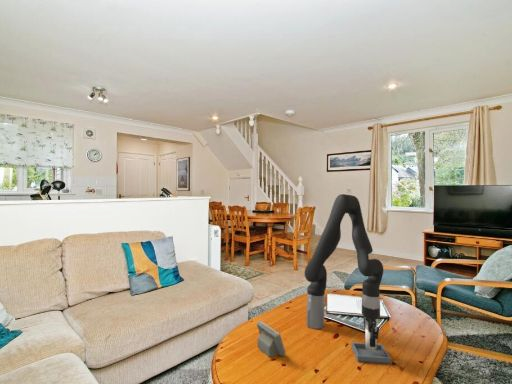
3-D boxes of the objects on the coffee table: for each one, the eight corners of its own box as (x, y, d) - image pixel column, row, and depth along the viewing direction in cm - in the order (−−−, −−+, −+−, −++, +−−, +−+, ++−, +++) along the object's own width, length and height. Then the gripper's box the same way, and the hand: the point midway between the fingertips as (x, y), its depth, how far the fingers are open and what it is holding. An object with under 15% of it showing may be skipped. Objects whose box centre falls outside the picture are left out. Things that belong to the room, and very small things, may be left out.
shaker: (367, 351, 116) (367, 328, 116) (363, 345, 120) (364, 323, 120) (378, 351, 115) (378, 328, 115) (374, 345, 120) (374, 323, 120)
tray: (357, 361, 113) (357, 356, 113) (351, 347, 124) (351, 342, 124) (391, 364, 112) (391, 358, 112) (381, 349, 122) (381, 344, 122)
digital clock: (287, 357, 116) (287, 332, 116) (268, 362, 112) (268, 337, 112) (270, 338, 130) (270, 317, 131) (253, 342, 127) (253, 320, 127)
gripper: (357, 298, 125) (357, 334, 125) (367, 311, 111) (366, 352, 111) (374, 298, 125) (373, 335, 124) (385, 312, 110) (385, 353, 110)
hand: (370, 343), depth 118 cm, fingers closed on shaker, 4 cm apart
